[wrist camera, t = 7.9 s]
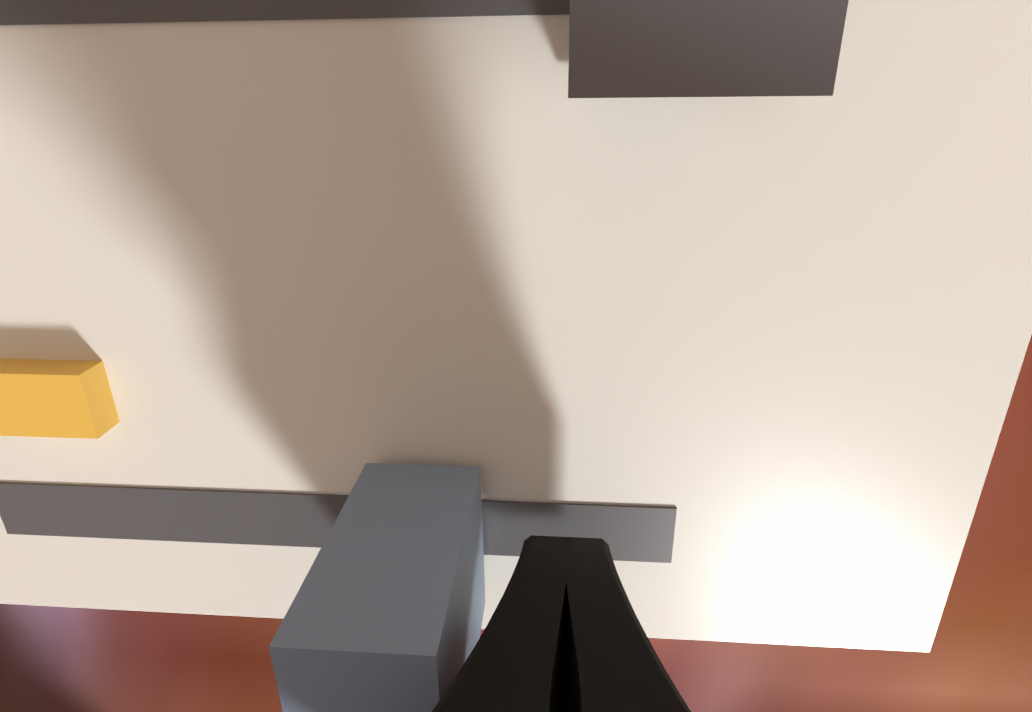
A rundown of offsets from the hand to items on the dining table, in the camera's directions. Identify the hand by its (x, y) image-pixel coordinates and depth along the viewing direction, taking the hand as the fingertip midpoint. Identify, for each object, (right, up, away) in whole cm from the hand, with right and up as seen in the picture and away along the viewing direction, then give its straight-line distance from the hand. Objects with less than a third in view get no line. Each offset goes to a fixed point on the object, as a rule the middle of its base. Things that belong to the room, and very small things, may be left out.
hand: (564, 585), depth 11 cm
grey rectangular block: (-2, 0, +1) cm, 3 cm away
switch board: (-3, +6, +1) cm, 7 cm away
